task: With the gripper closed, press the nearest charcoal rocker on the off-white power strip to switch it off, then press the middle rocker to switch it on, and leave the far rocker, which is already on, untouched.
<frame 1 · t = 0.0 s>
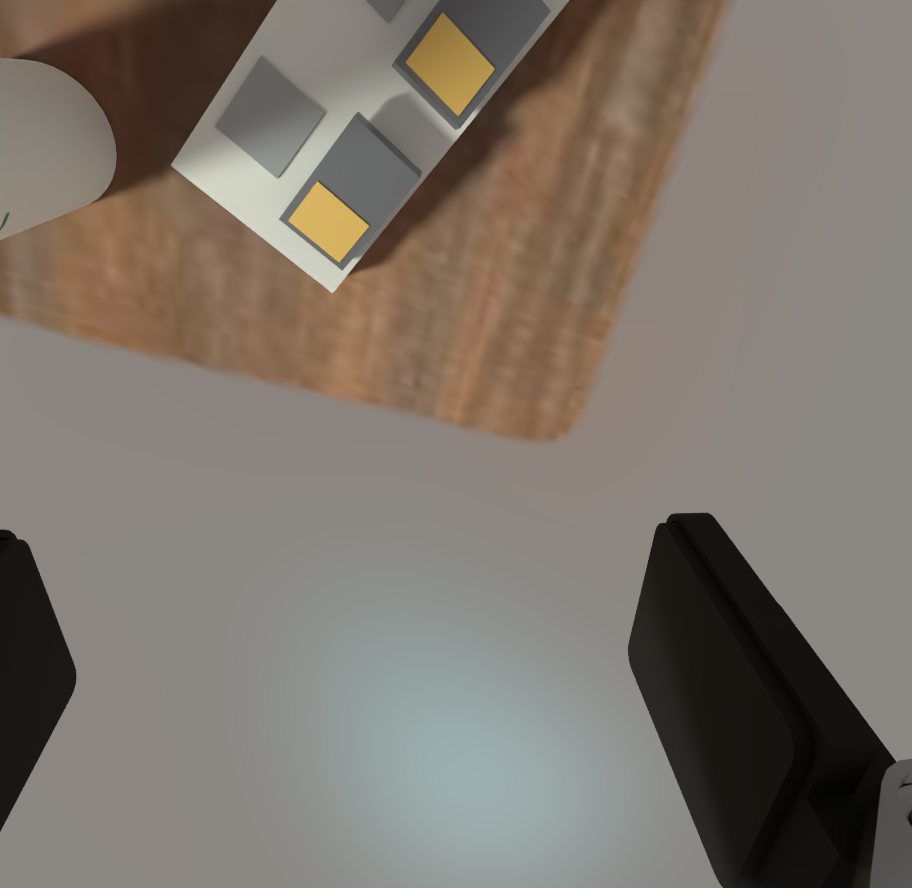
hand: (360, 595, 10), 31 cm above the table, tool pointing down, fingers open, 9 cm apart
power strip: (424, 4, 32), on the table
cylindrical container: (46, 138, 33), on the table
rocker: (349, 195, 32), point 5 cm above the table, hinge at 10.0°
middle rocker: (470, 38, 29), point 5 cm above the table, hinge at -10.0°
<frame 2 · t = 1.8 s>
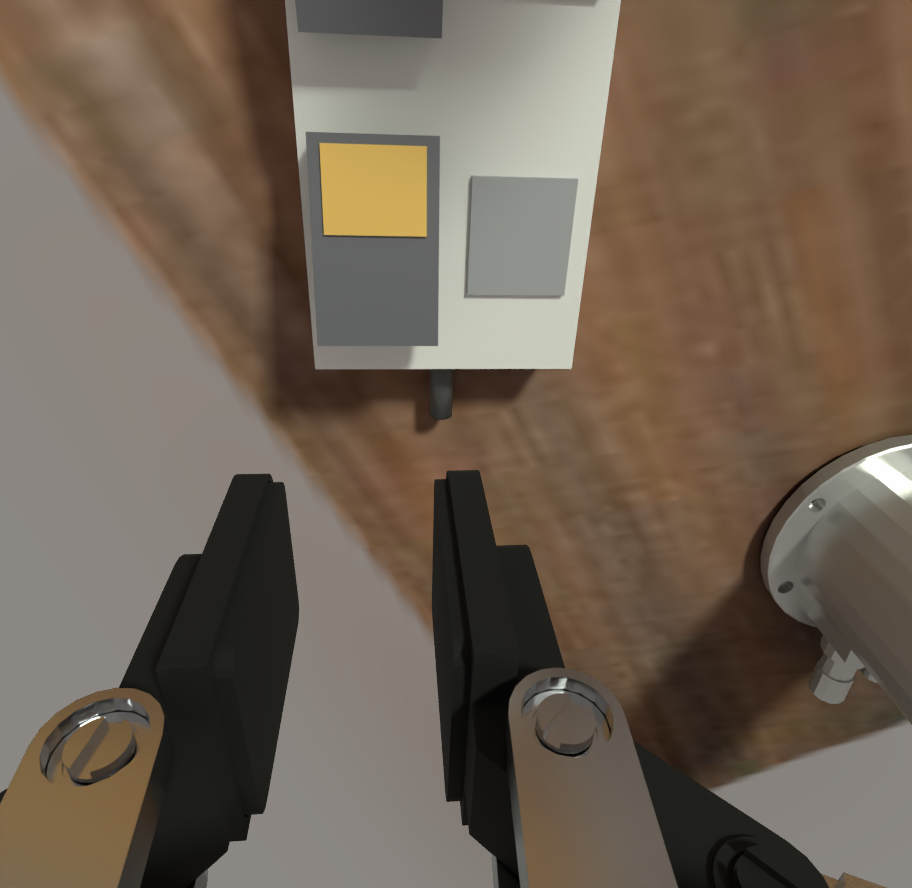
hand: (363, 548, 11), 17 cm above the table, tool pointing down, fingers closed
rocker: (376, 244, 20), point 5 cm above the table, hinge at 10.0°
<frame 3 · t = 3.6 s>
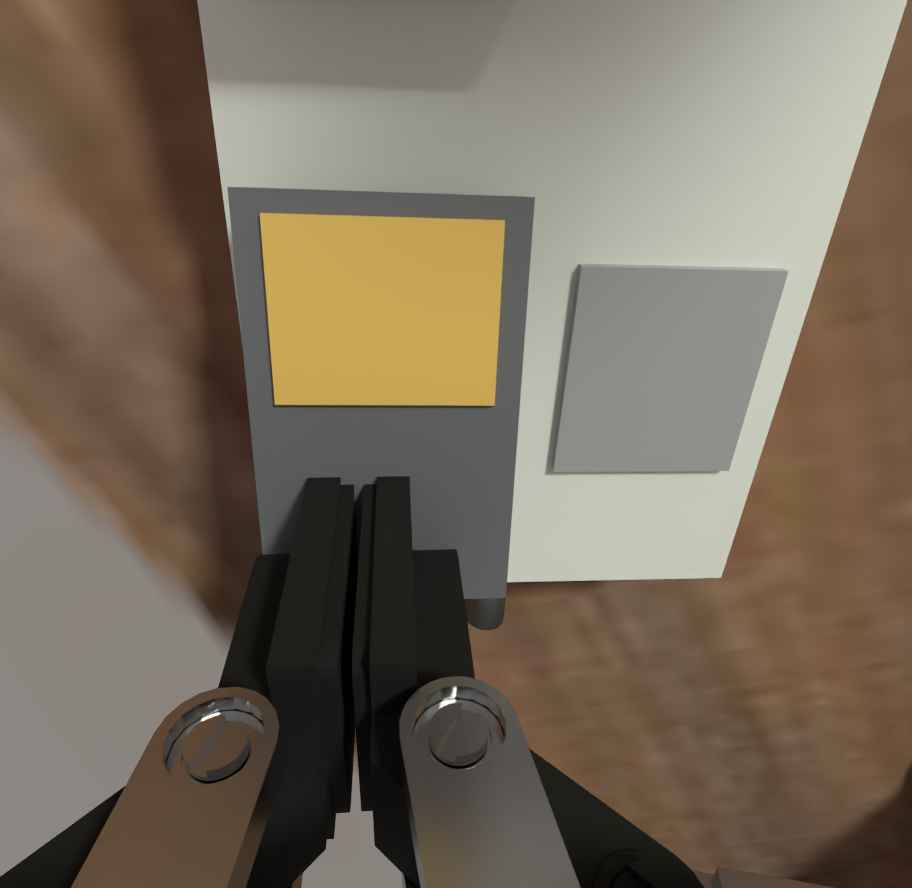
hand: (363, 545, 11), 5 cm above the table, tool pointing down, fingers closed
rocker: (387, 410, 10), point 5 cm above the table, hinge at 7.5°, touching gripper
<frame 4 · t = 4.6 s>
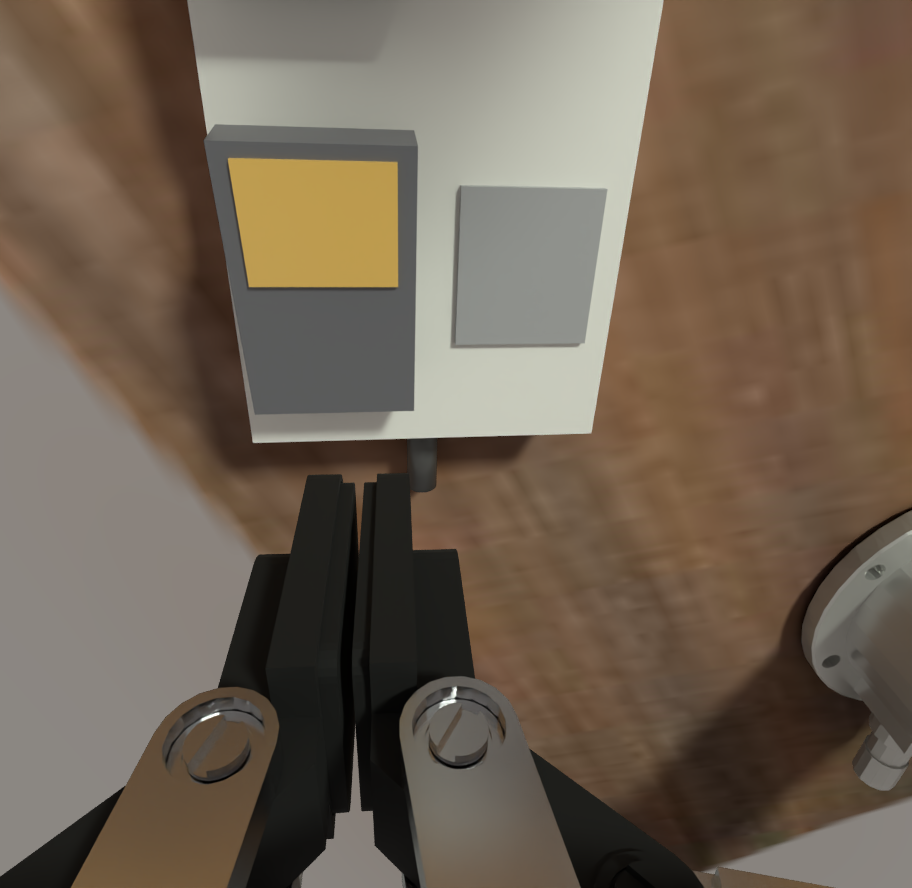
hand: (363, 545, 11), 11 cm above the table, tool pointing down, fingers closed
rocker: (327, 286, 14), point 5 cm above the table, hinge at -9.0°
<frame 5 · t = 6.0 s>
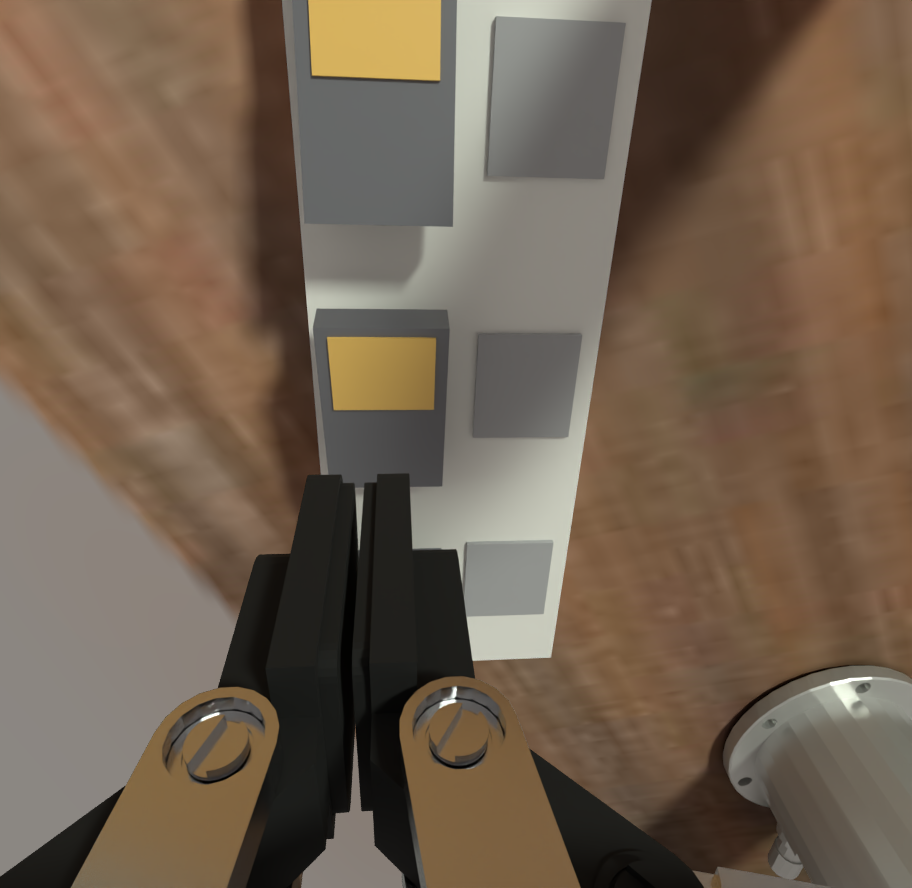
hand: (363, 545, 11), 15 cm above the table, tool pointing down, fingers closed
power strip: (449, 355, 25), on the table
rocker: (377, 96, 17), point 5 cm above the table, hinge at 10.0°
middle rocker: (384, 405, 21), point 5 cm above the table, hinge at -10.0°
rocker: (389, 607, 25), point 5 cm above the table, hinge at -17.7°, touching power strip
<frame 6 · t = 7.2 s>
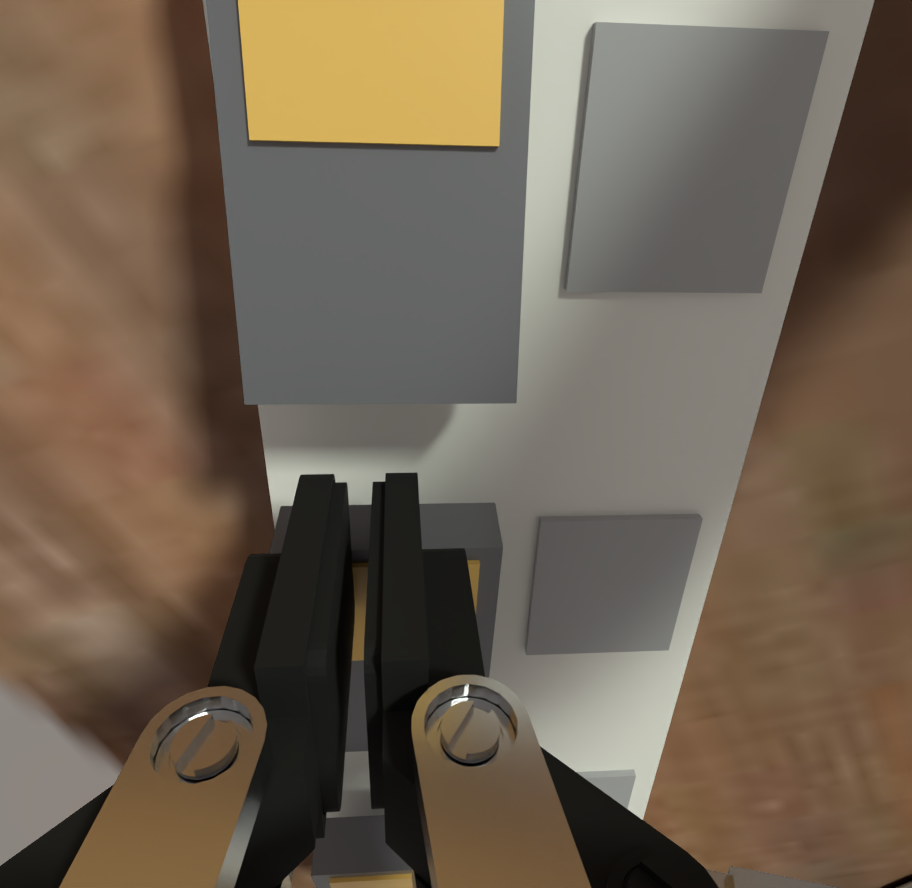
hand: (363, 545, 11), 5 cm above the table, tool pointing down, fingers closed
power strip: (487, 513, 17), on the table
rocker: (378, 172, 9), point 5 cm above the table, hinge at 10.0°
middle rocker: (392, 641, 13), point 5 cm above the table, hinge at -6.7°, touching gripper
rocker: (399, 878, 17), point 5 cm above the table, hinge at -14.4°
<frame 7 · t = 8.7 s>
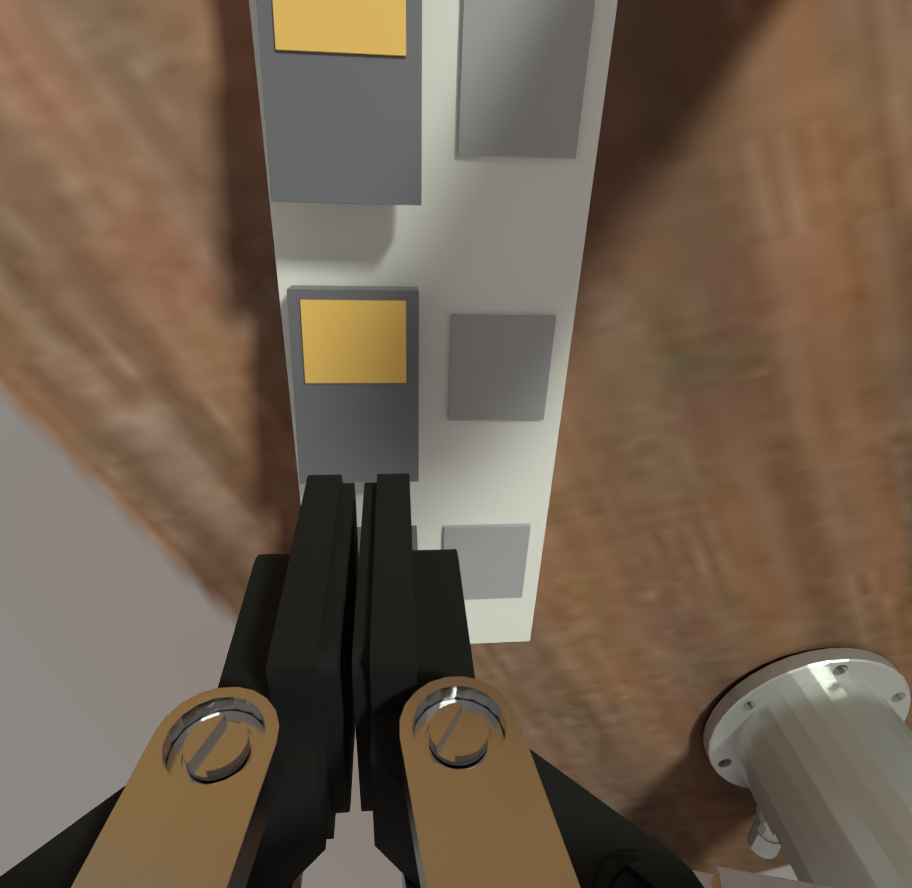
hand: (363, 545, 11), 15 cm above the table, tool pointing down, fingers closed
power strip: (425, 338, 25), on the table
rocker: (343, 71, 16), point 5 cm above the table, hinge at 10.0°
middle rocker: (357, 387, 21), point 5 cm above the table, hinge at 10.4°
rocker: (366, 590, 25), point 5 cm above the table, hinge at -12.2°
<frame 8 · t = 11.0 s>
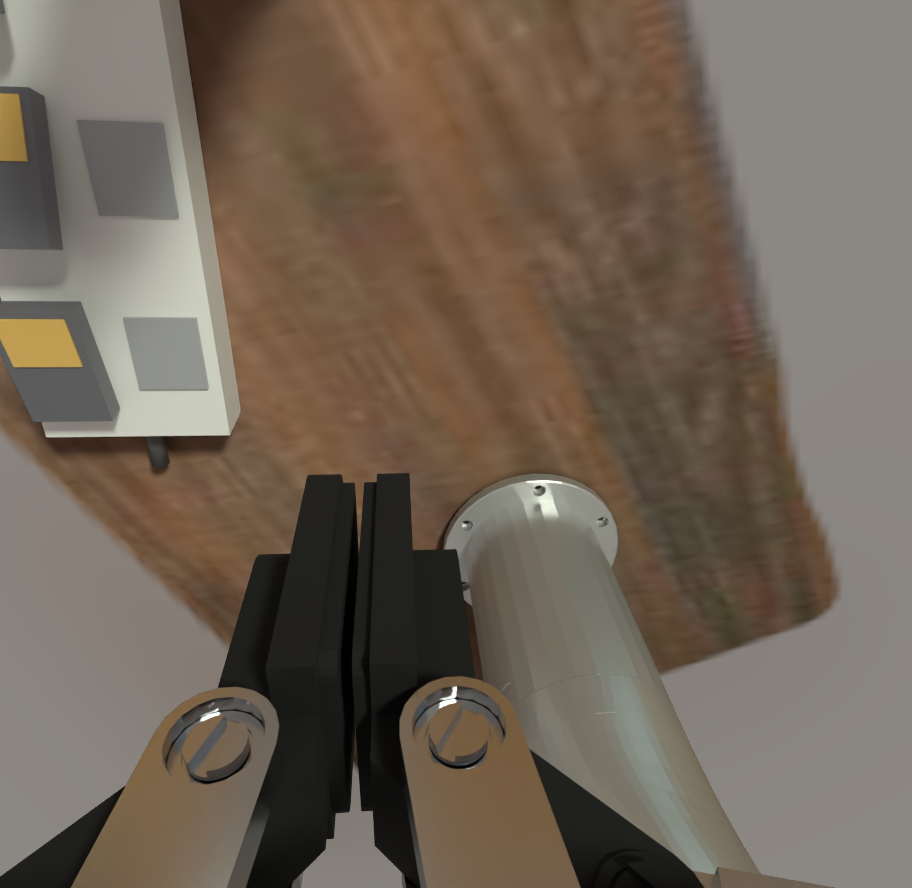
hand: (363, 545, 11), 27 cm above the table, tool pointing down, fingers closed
power strip: (100, 161, 31), on the table
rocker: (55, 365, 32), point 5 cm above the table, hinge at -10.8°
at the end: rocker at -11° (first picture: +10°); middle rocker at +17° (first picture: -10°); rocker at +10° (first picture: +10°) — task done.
